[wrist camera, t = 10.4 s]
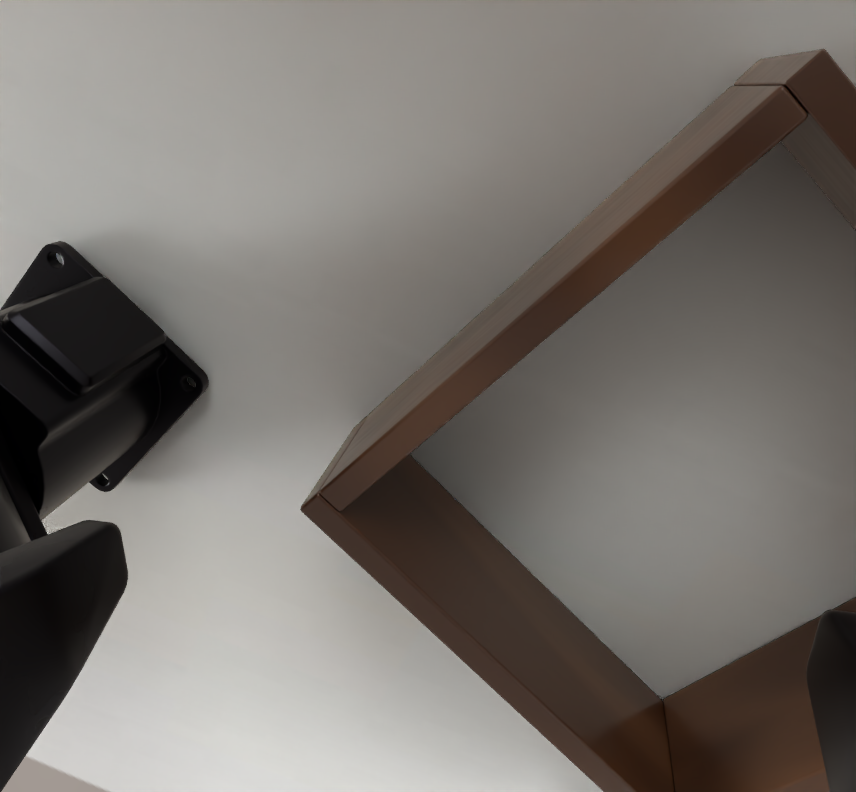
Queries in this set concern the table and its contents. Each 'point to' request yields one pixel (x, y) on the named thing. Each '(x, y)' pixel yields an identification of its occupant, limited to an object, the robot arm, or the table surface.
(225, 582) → the table surface
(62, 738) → the table surface
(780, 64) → the crate
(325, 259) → the table surface
